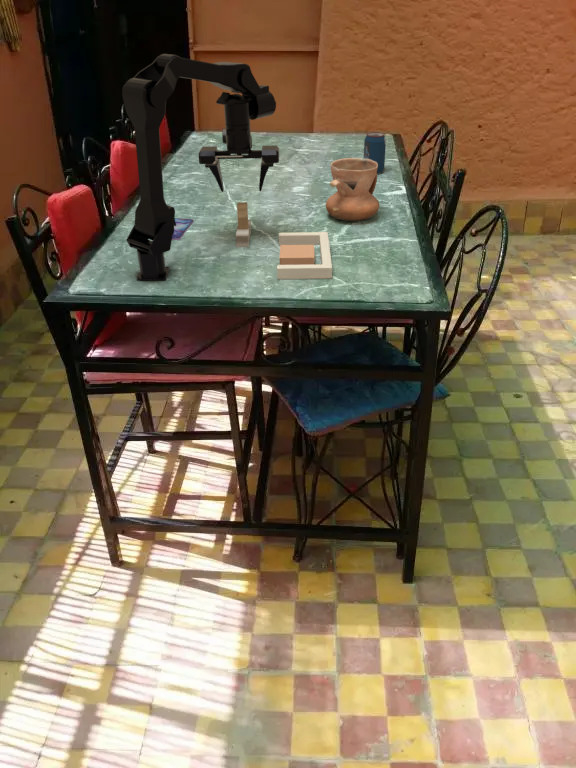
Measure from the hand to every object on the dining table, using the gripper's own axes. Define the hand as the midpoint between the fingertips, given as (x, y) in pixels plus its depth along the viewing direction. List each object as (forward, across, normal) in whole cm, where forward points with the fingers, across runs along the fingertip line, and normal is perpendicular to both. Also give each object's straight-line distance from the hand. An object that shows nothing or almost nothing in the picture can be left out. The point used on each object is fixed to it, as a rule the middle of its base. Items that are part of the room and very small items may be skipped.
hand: (241, 191), depth 154 cm
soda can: (+12, -39, -59) cm, 72 cm away
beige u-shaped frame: (+12, -14, +14) cm, 23 cm away
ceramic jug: (+12, -29, -16) cm, 35 cm away
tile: (+12, -13, +14) cm, 23 cm away
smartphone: (+13, +19, -7) cm, 24 cm away
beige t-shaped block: (+12, 0, 0) cm, 12 cm away
